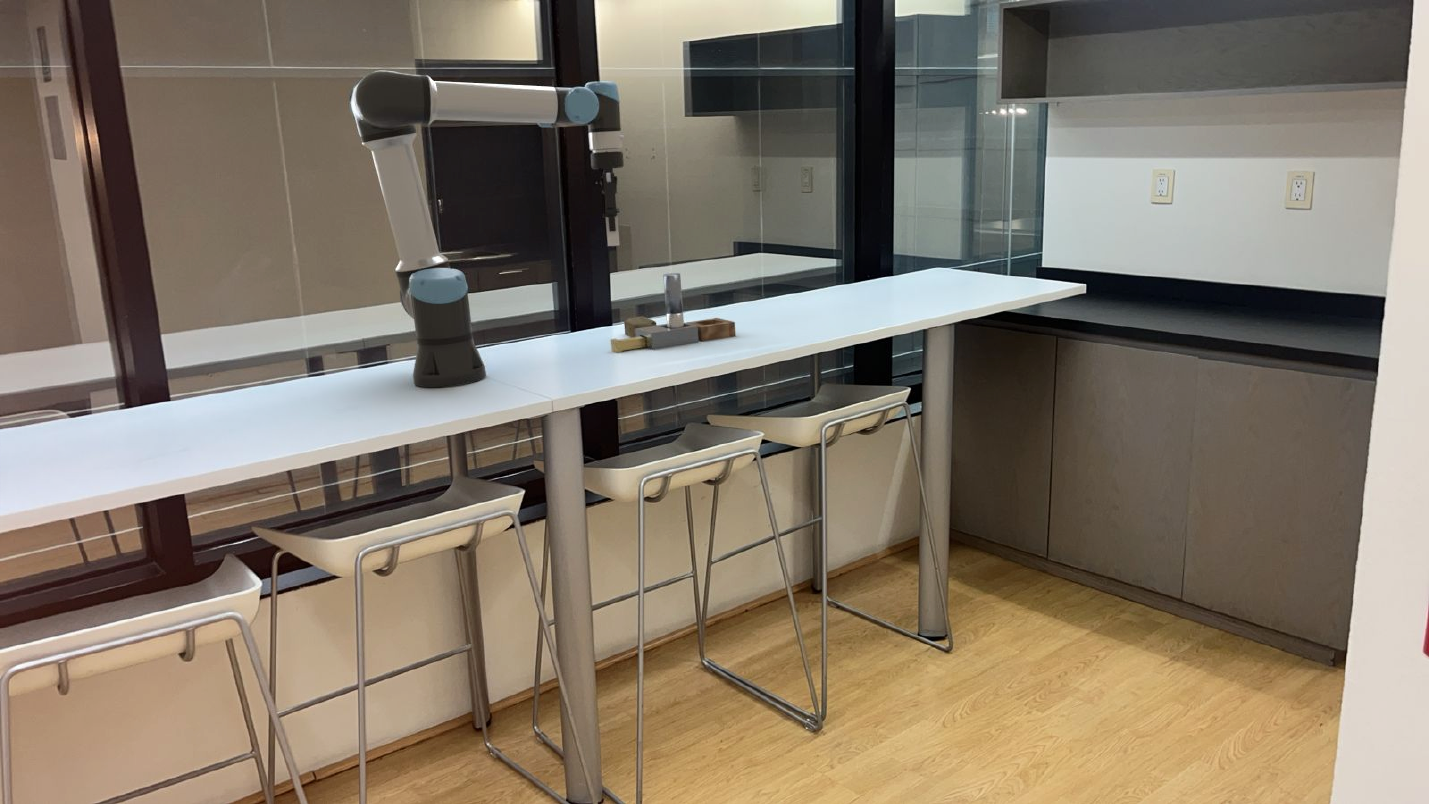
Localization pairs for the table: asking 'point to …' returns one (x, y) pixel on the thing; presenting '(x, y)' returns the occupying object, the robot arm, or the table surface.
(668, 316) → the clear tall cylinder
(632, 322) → the stone block
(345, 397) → the table surface
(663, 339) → the socket
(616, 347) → the tan wooden bar
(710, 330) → the brown wooden open box
